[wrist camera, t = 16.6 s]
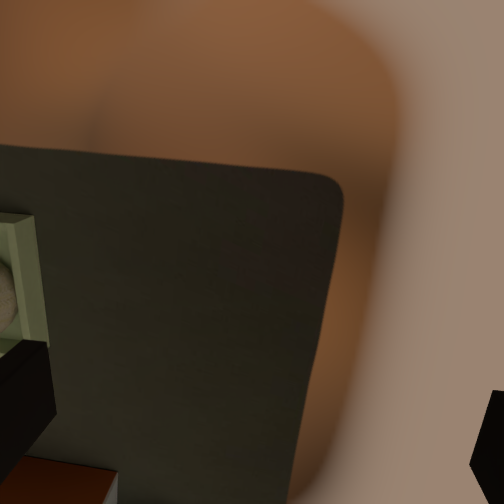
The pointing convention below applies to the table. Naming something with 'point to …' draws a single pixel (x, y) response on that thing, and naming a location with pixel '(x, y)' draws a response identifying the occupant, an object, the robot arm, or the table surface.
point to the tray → (23, 280)
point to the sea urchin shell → (7, 298)
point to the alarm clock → (58, 484)
